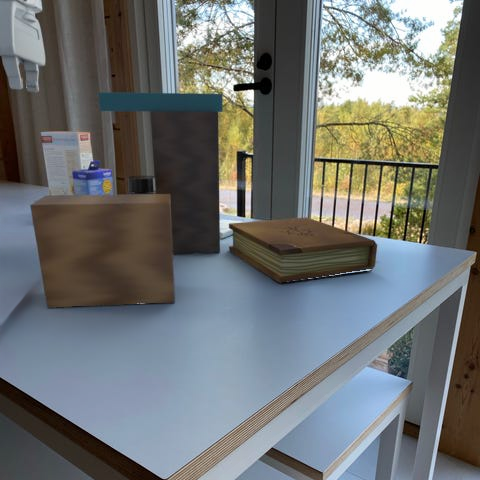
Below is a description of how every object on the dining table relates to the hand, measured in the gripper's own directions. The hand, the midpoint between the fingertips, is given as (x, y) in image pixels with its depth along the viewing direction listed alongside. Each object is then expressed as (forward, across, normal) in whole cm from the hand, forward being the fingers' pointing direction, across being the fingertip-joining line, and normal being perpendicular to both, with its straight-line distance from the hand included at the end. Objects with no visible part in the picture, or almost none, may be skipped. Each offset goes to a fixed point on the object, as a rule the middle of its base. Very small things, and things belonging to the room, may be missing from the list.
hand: (25, 90), depth 82 cm
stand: (+29, -1, +28) cm, 40 cm away
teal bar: (+3, -1, +23) cm, 24 cm away
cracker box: (+29, -60, -7) cm, 67 cm away
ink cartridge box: (+29, -38, +3) cm, 48 cm away
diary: (+29, +10, +48) cm, 57 cm away
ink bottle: (+29, -22, +18) cm, 41 cm away
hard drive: (+29, -16, +36) cm, 49 cm away
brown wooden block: (+29, +26, +16) cm, 42 cm away
